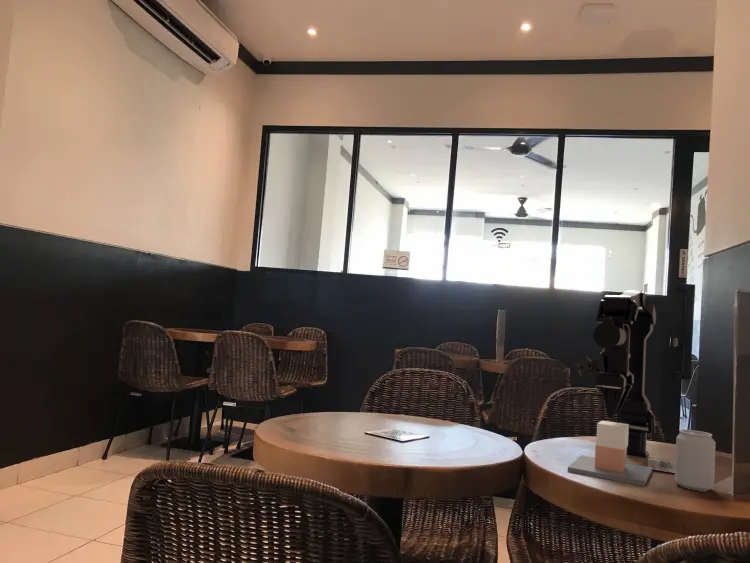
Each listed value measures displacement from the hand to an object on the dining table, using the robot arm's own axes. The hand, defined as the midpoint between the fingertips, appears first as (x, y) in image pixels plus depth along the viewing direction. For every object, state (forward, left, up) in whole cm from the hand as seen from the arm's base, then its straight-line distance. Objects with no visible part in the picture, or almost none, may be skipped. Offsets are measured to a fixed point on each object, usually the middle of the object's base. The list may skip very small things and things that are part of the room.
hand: (613, 415), depth 135 cm
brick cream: (0, 0, -7) cm, 7 cm away
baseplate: (0, 0, -13) cm, 13 cm away
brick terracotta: (0, 0, -12) cm, 12 cm away
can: (0, +17, -13) cm, 22 cm away
